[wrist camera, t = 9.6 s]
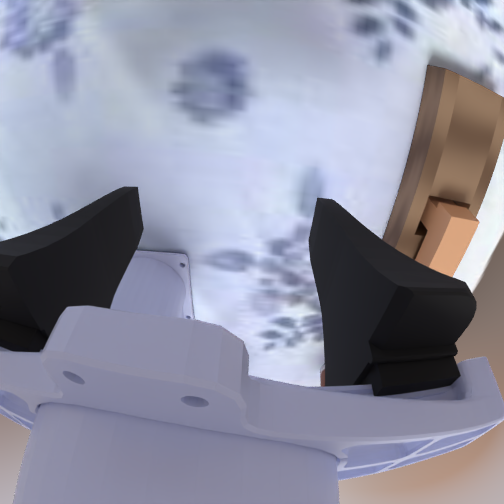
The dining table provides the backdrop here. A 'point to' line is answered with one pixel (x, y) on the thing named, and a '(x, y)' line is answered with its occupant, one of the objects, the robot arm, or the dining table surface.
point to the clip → (445, 234)
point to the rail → (447, 153)
